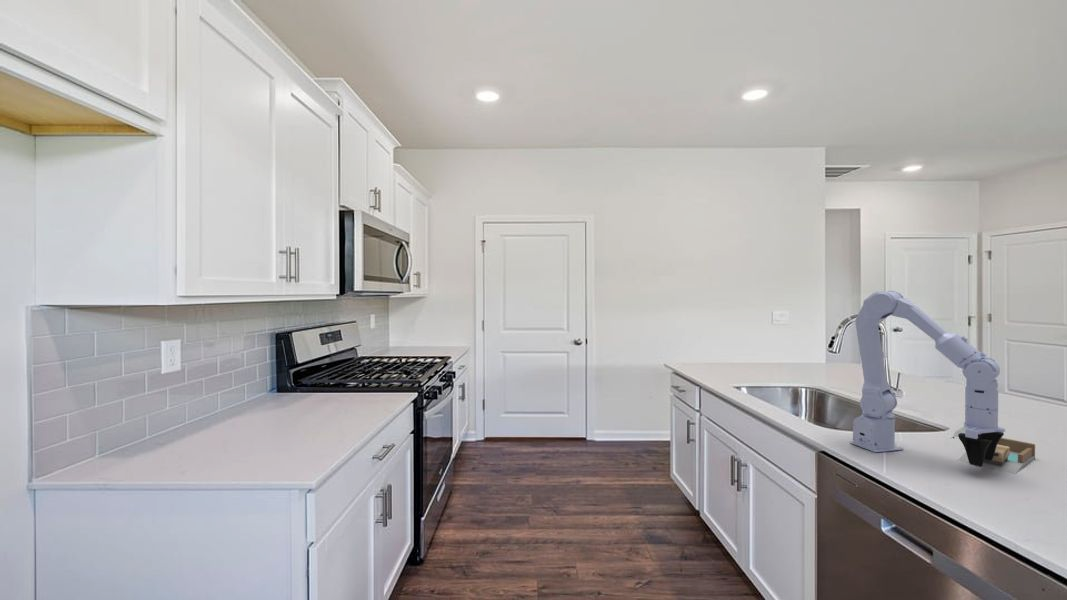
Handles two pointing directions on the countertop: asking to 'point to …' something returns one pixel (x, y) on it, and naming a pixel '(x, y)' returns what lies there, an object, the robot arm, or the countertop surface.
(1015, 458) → the bay pad
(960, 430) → the knife
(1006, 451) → the tan cardboard box
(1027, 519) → the countertop surface
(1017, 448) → the dock
